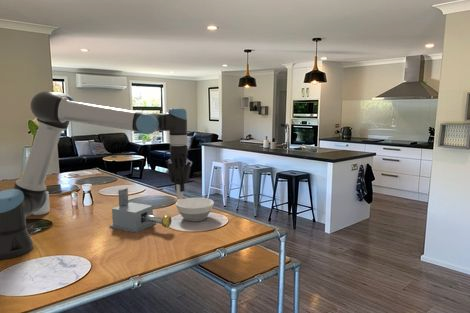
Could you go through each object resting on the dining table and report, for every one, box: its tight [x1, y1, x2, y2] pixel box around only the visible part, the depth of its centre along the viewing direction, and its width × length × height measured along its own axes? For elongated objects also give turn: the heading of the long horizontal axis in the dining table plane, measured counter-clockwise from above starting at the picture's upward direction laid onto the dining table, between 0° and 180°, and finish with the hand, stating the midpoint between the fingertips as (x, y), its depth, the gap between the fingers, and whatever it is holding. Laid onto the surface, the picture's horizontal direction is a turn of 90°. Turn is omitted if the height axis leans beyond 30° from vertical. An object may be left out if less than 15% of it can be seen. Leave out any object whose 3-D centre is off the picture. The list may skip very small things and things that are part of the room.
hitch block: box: [109, 201, 157, 234], centre depth 160 cm, size 16×14×9 cm
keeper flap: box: [117, 187, 129, 207], centre depth 161 cm, size 8×5×1 cm
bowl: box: [175, 197, 215, 222], centre depth 171 cm, size 20×19×8 cm
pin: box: [141, 214, 172, 228], centre depth 155 cm, size 18×5×5 cm, turn 64°
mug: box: [31, 190, 51, 216], centre depth 179 cm, size 12×9×11 cm
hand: (180, 198), depth 147 cm, fingers closed
